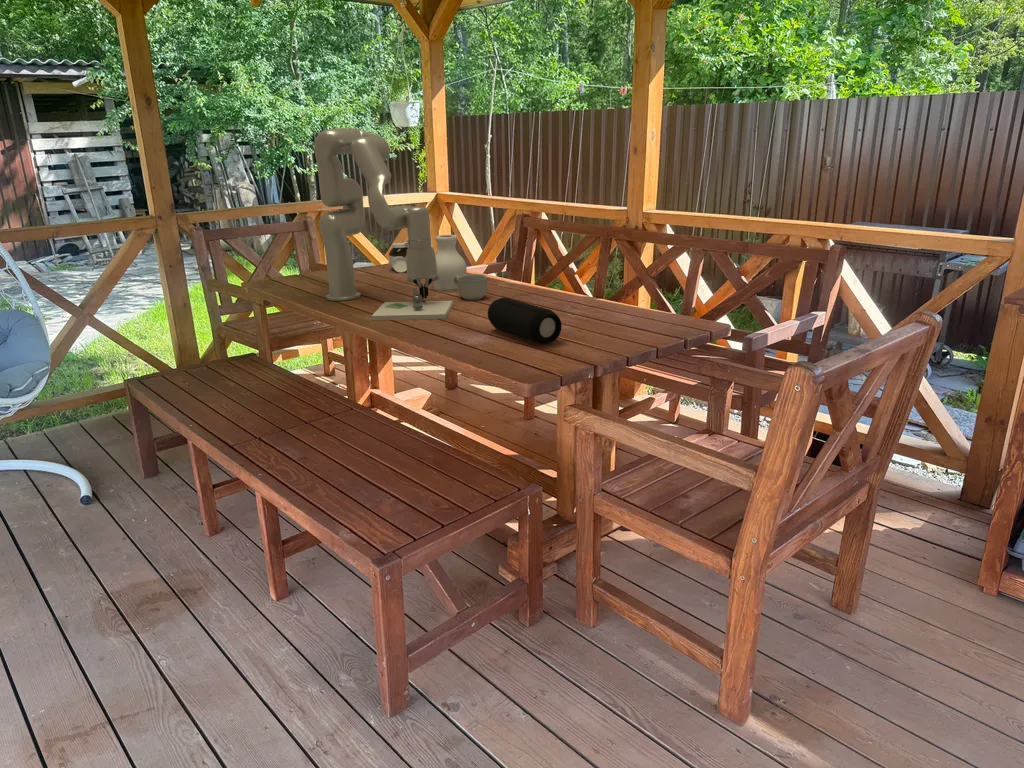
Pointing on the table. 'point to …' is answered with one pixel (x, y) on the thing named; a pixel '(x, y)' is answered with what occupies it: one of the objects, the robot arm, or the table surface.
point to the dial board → (413, 310)
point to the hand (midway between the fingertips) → (424, 297)
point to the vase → (448, 263)
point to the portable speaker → (525, 320)
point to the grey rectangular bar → (417, 299)
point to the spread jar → (398, 257)
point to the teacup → (471, 286)
